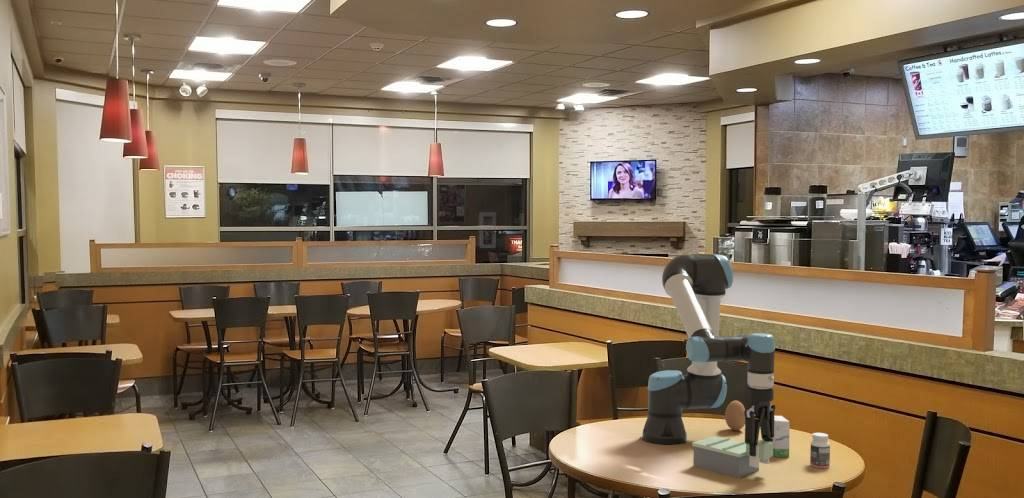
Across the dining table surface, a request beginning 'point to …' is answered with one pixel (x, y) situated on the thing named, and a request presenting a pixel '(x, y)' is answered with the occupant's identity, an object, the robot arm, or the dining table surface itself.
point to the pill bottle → (820, 451)
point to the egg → (735, 415)
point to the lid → (734, 447)
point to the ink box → (781, 437)
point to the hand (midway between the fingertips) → (759, 464)
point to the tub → (722, 463)
